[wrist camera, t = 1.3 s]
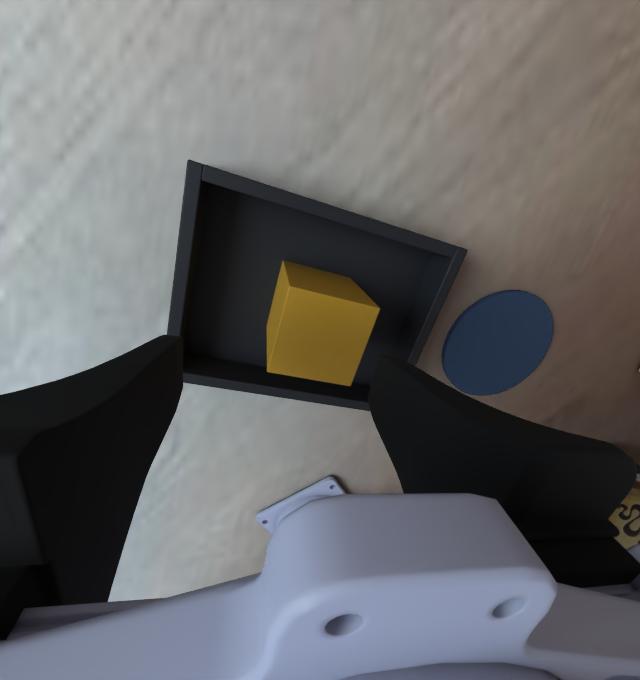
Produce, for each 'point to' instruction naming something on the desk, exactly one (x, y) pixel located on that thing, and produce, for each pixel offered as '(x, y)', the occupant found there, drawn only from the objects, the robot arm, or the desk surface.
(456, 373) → the coaster
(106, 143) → the desk surface
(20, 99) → the desk surface
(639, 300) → the desk surface
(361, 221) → the tray
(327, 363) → the block
